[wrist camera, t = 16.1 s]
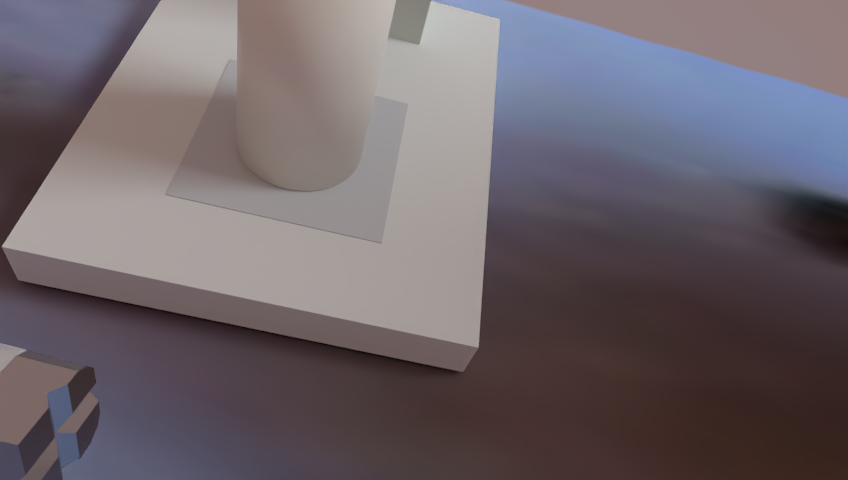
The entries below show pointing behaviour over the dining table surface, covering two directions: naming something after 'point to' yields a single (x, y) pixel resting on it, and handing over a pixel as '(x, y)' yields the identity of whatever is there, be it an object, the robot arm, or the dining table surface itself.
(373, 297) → the press
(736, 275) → the dining table surface
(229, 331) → the dining table surface
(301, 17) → the white lidded bottle
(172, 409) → the dining table surface
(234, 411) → the dining table surface
